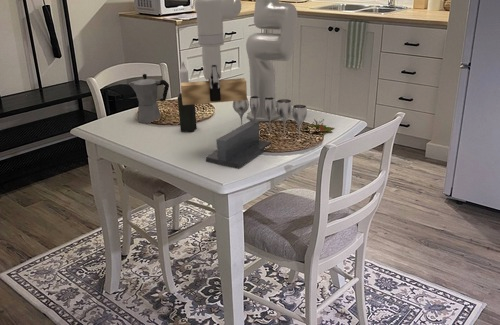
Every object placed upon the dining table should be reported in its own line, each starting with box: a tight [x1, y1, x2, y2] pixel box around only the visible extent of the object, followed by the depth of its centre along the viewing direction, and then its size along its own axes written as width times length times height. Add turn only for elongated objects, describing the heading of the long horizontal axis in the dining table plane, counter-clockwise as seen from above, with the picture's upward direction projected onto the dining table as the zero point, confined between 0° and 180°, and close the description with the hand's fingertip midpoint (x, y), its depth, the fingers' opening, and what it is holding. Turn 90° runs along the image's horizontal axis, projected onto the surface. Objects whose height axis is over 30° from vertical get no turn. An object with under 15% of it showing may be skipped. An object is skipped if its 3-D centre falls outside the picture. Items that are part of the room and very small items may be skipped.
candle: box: [177, 61, 198, 133], centre depth 178 cm, size 5×5×25 cm
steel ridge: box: [205, 120, 272, 170], centre depth 159 cm, size 20×12×8 cm, turn 149°
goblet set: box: [232, 96, 308, 138], centre depth 173 cm, size 28×6×13 cm, turn 59°
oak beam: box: [180, 77, 248, 105], centre depth 157 cm, size 20×4×6 cm, turn 100°
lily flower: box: [305, 117, 334, 136], centre depth 177 cm, size 12×12×5 cm
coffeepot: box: [127, 73, 170, 124], centre depth 191 cm, size 15×9×18 cm, turn 87°
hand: (214, 98), depth 157 cm, fingers closed on oak beam, 4 cm apart
